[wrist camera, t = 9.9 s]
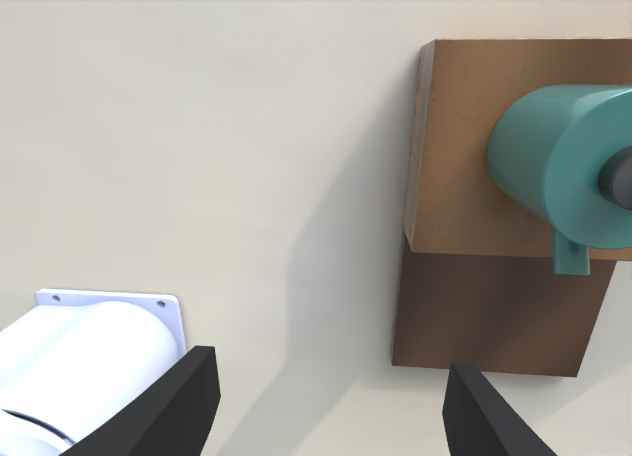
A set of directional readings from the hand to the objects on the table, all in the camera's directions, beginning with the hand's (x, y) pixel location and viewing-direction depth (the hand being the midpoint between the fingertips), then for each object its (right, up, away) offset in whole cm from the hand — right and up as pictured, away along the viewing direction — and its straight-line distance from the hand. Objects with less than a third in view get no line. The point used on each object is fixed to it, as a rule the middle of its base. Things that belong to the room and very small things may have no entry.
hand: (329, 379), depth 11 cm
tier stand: (+10, +5, +9) cm, 14 cm away
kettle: (+9, +8, +4) cm, 13 cm away
